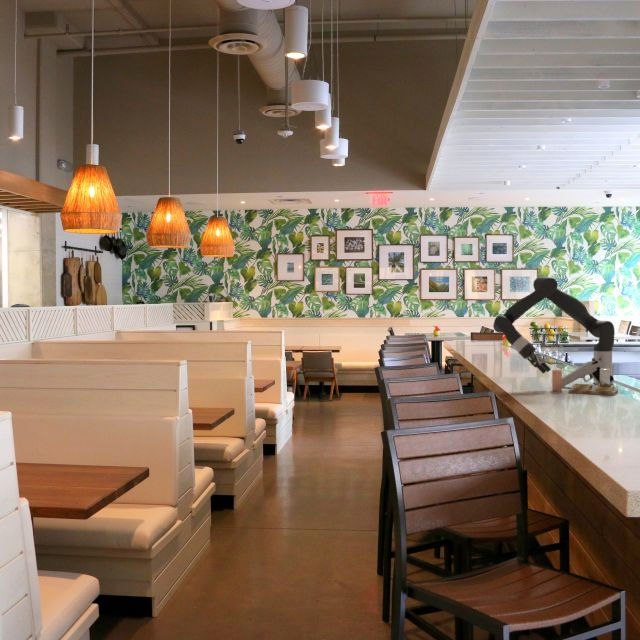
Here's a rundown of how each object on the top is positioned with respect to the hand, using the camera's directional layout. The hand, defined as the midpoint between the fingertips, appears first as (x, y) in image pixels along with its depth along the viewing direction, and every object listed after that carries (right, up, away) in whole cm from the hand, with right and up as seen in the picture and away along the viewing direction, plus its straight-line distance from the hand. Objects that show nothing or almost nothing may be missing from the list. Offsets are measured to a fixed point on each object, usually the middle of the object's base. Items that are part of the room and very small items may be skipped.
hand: (547, 371), depth 361 cm
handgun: (+22, -9, +12) cm, 27 cm away
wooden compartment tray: (+19, -9, -11) cm, 24 cm away
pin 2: (+23, -8, -14) cm, 28 cm away
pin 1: (+4, -9, -2) cm, 10 cm away
